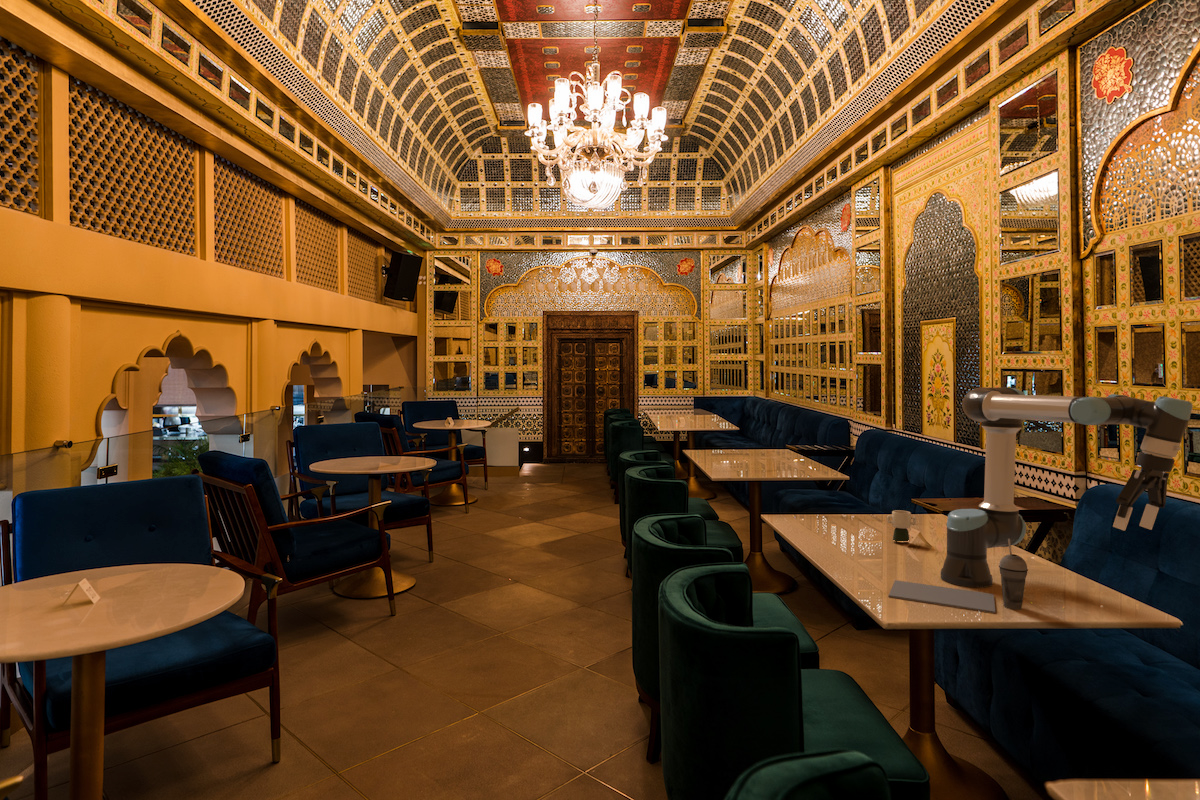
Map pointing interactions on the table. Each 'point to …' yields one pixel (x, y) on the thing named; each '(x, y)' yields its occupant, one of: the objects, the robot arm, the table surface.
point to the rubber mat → (943, 596)
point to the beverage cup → (1013, 579)
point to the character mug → (901, 524)
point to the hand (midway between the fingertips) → (1132, 528)
